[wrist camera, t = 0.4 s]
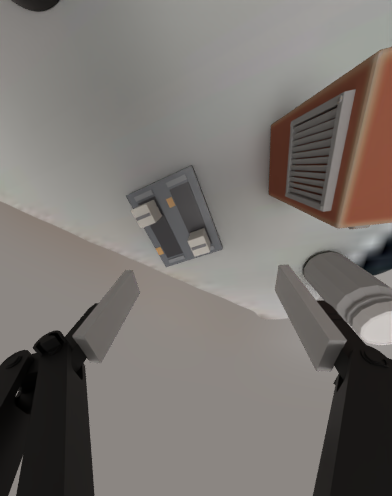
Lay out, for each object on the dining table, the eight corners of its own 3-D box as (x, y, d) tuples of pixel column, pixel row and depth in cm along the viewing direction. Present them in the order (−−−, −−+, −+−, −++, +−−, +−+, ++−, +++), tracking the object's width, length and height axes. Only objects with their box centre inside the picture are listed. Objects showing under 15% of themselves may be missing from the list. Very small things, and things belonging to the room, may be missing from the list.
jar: (338, 242, 38) (429, 297, 22) (347, 272, 42) (432, 339, 26) (296, 260, 41) (349, 319, 25) (307, 286, 45) (361, 354, 29)
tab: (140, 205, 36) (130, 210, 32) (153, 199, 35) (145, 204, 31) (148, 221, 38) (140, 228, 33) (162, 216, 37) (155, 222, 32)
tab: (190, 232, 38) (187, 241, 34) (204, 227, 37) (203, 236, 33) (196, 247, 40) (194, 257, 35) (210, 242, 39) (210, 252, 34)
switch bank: (128, 194, 37) (124, 196, 36) (192, 165, 33) (191, 165, 32) (167, 264, 45) (165, 268, 43) (222, 246, 41) (222, 250, 39)
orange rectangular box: (307, 108, 28) (298, 196, 34) (265, 117, 29) (263, 201, 36) (513, -17, 9) (405, 233, 15) (369, 23, 10) (324, 242, 16)
